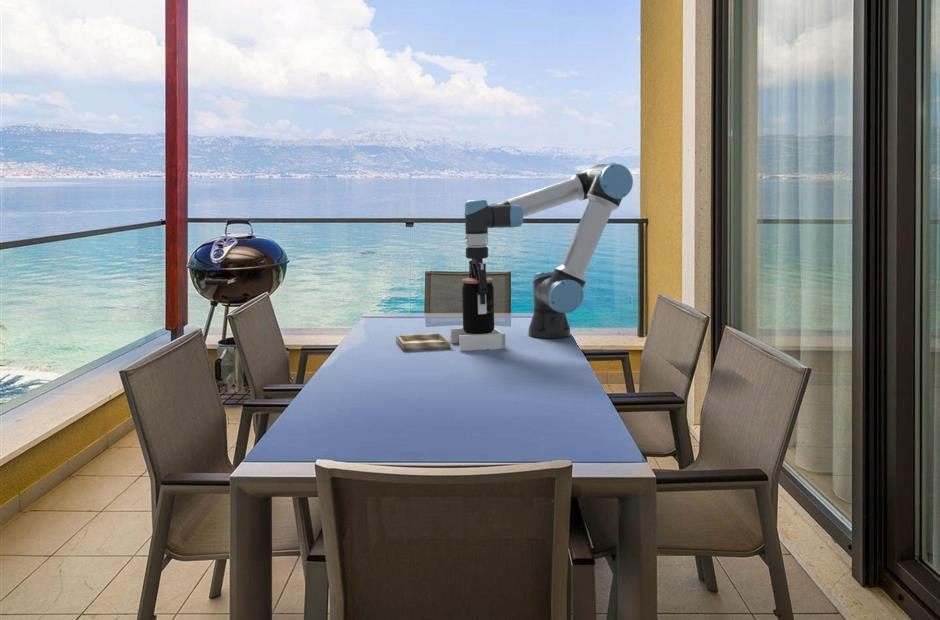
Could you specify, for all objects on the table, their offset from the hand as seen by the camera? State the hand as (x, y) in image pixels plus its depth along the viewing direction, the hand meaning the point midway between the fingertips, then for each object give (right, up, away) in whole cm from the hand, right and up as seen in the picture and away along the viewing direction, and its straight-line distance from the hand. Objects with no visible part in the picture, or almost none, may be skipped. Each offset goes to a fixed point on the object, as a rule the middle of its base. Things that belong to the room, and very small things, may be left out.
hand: (478, 311), depth 288 cm
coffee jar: (0, -7, +1) cm, 7 cm away
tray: (-19, -12, +2) cm, 22 cm away
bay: (0, -12, +2) cm, 12 cm away
